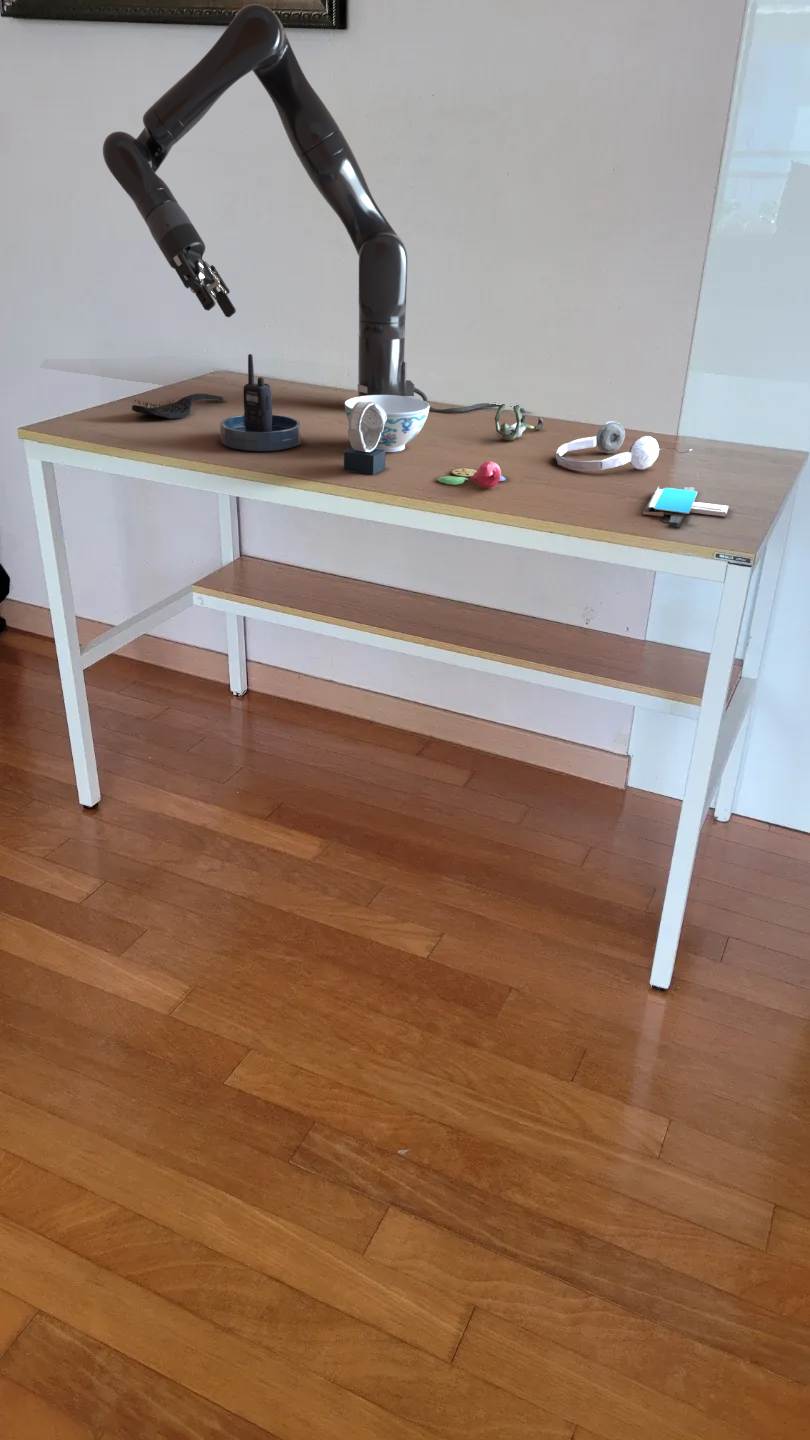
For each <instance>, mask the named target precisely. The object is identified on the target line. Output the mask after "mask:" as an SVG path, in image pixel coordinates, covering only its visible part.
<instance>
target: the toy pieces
mask: <svg viewBox="0 0 810 1440" xmlns="http://www.w3.org/2000/svg"><path fill="white" fill-rule="evenodd" d="M452 475H453V476H452ZM468 478H470V479H471V480H472V481H474V482H475V483H476V484H477V485H479V486H480V487H483V488H485V489H489V488H493V487H495V486H497V485H498V484H499V483H500V482H505V481H506V477H505V476H503V475H502V470H501V468H500V466H499V465H498V463H496V462H493V461H491V460H490V461H485V462H483V463H482V464H480V466H479V467H478V469H473V468H456V469H453V470H452V471H451V476H450V475H449V476H447V475H445V476H440V477H437V479H436V480H437V482H439V483H441V484H444V485H448V486H461V485H463V484H464V483H465V481H466V482H467V481H469V479H468Z"/></svg>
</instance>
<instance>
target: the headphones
mask: <svg viewBox="0 0 810 1440" xmlns="http://www.w3.org/2000/svg"><path fill="white" fill-rule="evenodd" d="M625 437H626V431H625V428H624V427H623V425H622V424H621V423H619V422H618V421H607V422H606V423H605V424H603V425H602V426H601V427H600V429H598V432H597V433H596V435H594V436H589V437H581V438H578V439H575V440H571V441H569V442H566V443H564V444H562V445H560V446H559V447H558V449H557V450H556V453H555V457H556V462H557V463H556V464H557V465H558V466H561V467H564V468H567V469H569V470H581V471H583V470H584V471H587V470H588V471H603V470H606V469H613V468H618V467H620V466H624V465H626V464H628V463H630V465H631V467H633V468H635V469H636V470H646V469H647V468H650V467H652V466H653V464H654V463H655V462H656V460H657V458H658V457H659V453H660V450H661V448H659V443H658V441H657V440H656V438H653V436H649V435H644V436H639V437H638V438H637V439H636V440H635V441H634V442H633V443H632V445H631V446H630V447H629V451H626V452H625V451H624V452H620V453H617V454H615V455H611V456H610V457H607V458H605V459H602V460H576V459H575V460H574V459H569V458H566V457H563V455H565V454H566V453H567V452H572V451H578V450H584V449H591V448H595V447H597V448H598V449H599V451H600V452H602V453H604V454H612V453H614V452H617V451H618V450H619V449H620V448H621V446H623V444H624V441H625ZM665 449H667V450H669V449H670V450H675V451H677V449H676V448H675V447H674V448H673V447H663V448H662V450H665ZM692 450H693V449H692V448H690V449H688V450H687V451H682V452H680V451H677V453H678V454H685V453H688V452H691V451H692Z"/></svg>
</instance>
